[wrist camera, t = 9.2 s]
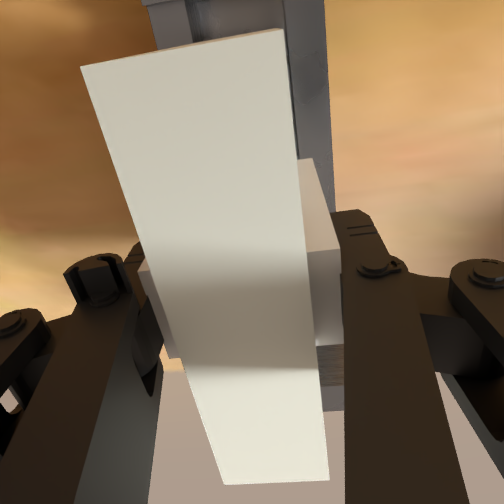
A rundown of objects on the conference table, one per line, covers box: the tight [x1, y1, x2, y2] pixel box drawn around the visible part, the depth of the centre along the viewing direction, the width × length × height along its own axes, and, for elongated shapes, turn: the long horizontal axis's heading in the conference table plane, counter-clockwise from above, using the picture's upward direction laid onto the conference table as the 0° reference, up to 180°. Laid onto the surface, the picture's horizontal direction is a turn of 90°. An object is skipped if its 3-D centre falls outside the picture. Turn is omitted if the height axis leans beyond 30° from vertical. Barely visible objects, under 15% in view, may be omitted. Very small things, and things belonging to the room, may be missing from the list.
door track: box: [141, 0, 344, 412], centre depth 17 cm, size 17×7×11 cm, turn 9°
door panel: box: [80, 28, 330, 485], centre depth 13 cm, size 11×3×12 cm, turn 9°
